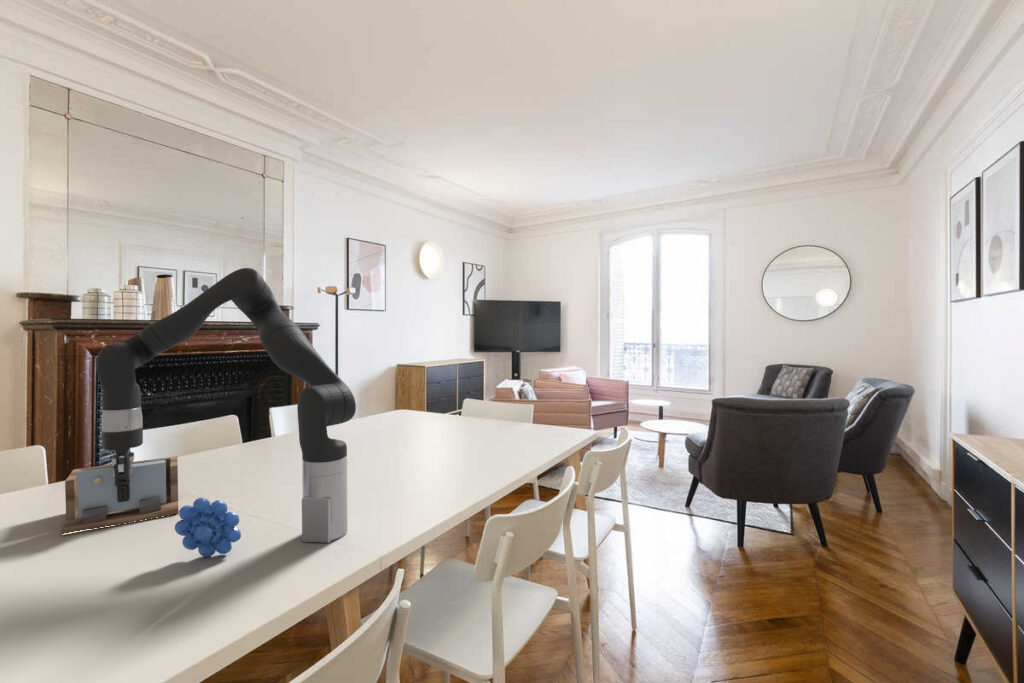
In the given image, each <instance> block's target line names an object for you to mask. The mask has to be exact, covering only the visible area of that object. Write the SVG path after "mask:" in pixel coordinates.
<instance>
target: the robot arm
mask: <svg viewBox="0 0 1024 683" xmlns="http://www.w3.org/2000/svg"><path fill="white" fill-rule="evenodd" d="M229 301H232V303H233V304H234V305H235V306H236V308H238V309H239V311H241V312H242V313H243V314H244V316H246V317H247V318H248V319H249V320H250V322H252V324H253V325H254V327H255V328H256V329H257V332H258V336H259V339H260V342H261V345H262V347H263V349H264V350H265V352H266V353H267V355H268V356H269V358H270V360H272V362H273V363H274V364H275V365H276V366H277V367H278V368H279V369H281V370H283V371H284V372H286V373H287V374H289V375H292V376H293V377H295V378H297V379H299V380H301V381H302V382H304V383H306V384H307V385H309V386H306V387H304V388H302V390H301V392H300V393H299V395H298V399H297V406H296V408H297V422H298V439H299V445H300V450H301V454H302V456H301V458H302V461H301V462H302V463H301V464H302V498H301V541H302V542H303V543H305V542H306V543H325V544H326V543H327V544H328V543H329V544H330V543H331V542H332V541H334V540H337V539H339V538H341V537H343V536H345V535H346V534H347V533H348V446H347V443H346V442H345V441H343V440H341V439H337V438H336V439H335V438H330V437H329V436H328V429H327V427H331V426H336V425H337V426H338V425H341V424H344V423H347V422H348V421H350V420H352V419H353V417H354V416H355V413H356V409H357V405H356V399H355V396H354V394H353V393H352V391H351V389H350V388H349V386H348V385H347V384H346V383H345V381H343V380H342V379H341V377H340V376H339V375H338V374H337V373H336V372H334V370H333V369H332V368H331V367H330V366H329V365H328V364H327V362H326V361H325V360H324V359H323V358H322V356H321V355H320V354H319V353H318V352H317V350H316V349H315V348H314V346H313V345H312V344H311V342H310V340H309V339H308V337H307V336H306V334H304V332H303V331H302V329H301V328H300V327H299V326H298V325H297V323H295V322H294V321H293V320H292V319H291V318H290V317H288V316H287V315H286V314H285V313H284V312H283V310H282V308H281V306H279V303H278V301H277V299H276V298H275V295H274V293H273V291H272V288H270V286H269V285H268V283H267V282H266V280H265V279H264V278H263V277H262V275H261V273H259V272H258V271H257V270H256V269H255V268H252V267H241V268H240V269H236V270H234V271H231V273H229V274H226V276H224V277H223V278H220V279H219V280H218V281H217V282H216V283H214V284H213V285H211V286H210V287H208V288H206V290H204V291H203V292H202V293H200V294H199V295H198V296H196V297H195V298H194V299H192V300H191V301H190V302H188V303H187V304H185V305H184V306H183V307H181V308H179V309H177V310H176V311H174V312H172V313H170V314H169V315H166V316H165V317H163V318H161V319H159V320H156V321H155V322H154V323H151V324H149V325H148V326H146V327H144V328H143V329H141V331H140V332H138V334H136V335H133V336H131V337H129V338H128V339H127V338H126V339H125V340H123V341H121V342H119V343H118V342H117V343H110V344H107V345H105V346H104V347H103V348H101V350H100V351H99V352H98V354H97V358H96V369H97V374H98V379H99V383H100V387H101V389H102V394H101V395H102V399H101V400H102V401H101V402H102V414H101V445H102V446H101V448H102V450H105V451H115V454H113V455H112V456H111V465H113V476H114V477H115V486H116V487H117V501H118V502H125V501H129V499H130V490H129V485H130V483H131V481H130V475H131V474H132V464H133V462H135V461H134V460H135V452H132V451H131V449H134V448H138V447H140V446H142V444H143V443H144V434H143V433H144V431H143V430H144V428H143V426H144V424H143V422H144V420H143V412H142V397H141V395H142V394H141V388H140V385H139V384H137V380H136V369H138V368H139V367H141V366H143V365H145V364H146V363H148V362H150V361H151V360H153V359H154V358H155V357H157V356H158V355H160V354H162V353H165V352H168V351H169V350H171V349H173V348H174V347H176V346H178V345H180V344H182V343H184V342H186V341H188V340H189V339H190V338H191V337H193V336H194V335H195V334H197V332H198V331H199V330H200V329H201V327H202V326H203V324H204V323H205V322H206V320H207V319H208V317H209V316H210V315H211V314H212V313H213V312H214V311H215V310H216V309H217V308H218V307H220V306H222V305H223V304H226V303H228V302H229ZM128 469H129V470H128ZM119 478H126V480H119Z"/></svg>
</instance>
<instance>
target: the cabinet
mask: <svg viewBox="0 0 1024 683" xmlns="http://www.w3.org/2000/svg"><path fill="white" fill-rule="evenodd" d="M159 460H165V465H166V503H162V504H161V497H155V498H149V499H143V500H140V501H139V508H134V509H128V510H122V511H116V512H110V513H107V506H101V507H95V508H89V509H84V510H83V517H81V518H78V485H77V474H78V472H79V471H82V470H90V469H98V468H106V467H113V465H112V464H107V465H106V464H104V465H96V466H91V467H90V466H88V467H81V468H75V469H74V468H73V470H72V471H71V473H69V475H68V477H66V479H65V481H64V486H65V489H64V491H65V492H64V494H65V497H64V498H65V522H64V523H63V525H62V527H61V529H60V535H61V534H64V533H69V532H74V531H80V530H86V529H94V528H100V527H105V526H111V525H118V524H124V523H129V522H134V521H140V520H145V519H151V518H156V517H162V516H167V517H169V516H168V515H173V514H178V515H179V472H178V469H179V468H178V466H179V465H178V463H179V462H178V456H169V457H162V458H154V459H145V460H137V461H133V464H136V463H144V462H152V461H159ZM173 516H174V515H173ZM162 518H163V517H162ZM151 520H152V519H151ZM140 522H141V521H140ZM124 525H125V524H124Z"/></svg>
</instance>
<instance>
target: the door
mask: <svg viewBox="0 0 1024 683" xmlns="http://www.w3.org/2000/svg"><path fill="white" fill-rule="evenodd" d="M128 470H129V469H128ZM119 480H126V478H119ZM130 481H131V483H130V485H129V490H130V499H129V501H125V502H118V501H117V487H116V486H115V477H114V476H113V467H106V468H98V469H90V470H82V471H79V472H78V474H77V485H78V518H81V517H83V510H84V509H89V508H95V507H101V506H107V513H110V512H116V511H122V510H128V509H134V508H139V501H140V500H143V499H149V498H155V497H161V504H162V503H166V465H165V460H159V461H152V462H144V463H136V464H132V474H131V475H130Z"/></svg>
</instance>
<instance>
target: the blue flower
mask: <svg viewBox="0 0 1024 683" xmlns="http://www.w3.org/2000/svg"><path fill="white" fill-rule="evenodd" d="M178 515H179V518H180V520H179V521H177V522H176V523H175V525H174V531H175V532H176V534H178V535H179V536H182V537H183V536H184V537H183V538H182V546H183V547H184V549H186V550H189V551H193V550H196V549H197V550H198V553H199V555H200V556H201V557H204V558H210V557H211V556H214V555H215V553H216V552H217V553H219V554H220V555H226V554H228V553H229V552H231V550H232V546H233V544H232V543H236V542H237V541H238V542H239V540H240V539H241V537H242V532H241V530H240V529H239V528H238V527H236V526H238V525H239V523H240V517H239V515H238V514H237V513H235V512H233V511H228V505H227V503H226V502H225V501H223V500H215V501H213V502H210V500H209V499H207V498H205V497H198V498H195V500H194V502H193V503H192V505H189V504H186V505H184V506H182V507H181V508H180V509H178Z"/></svg>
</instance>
